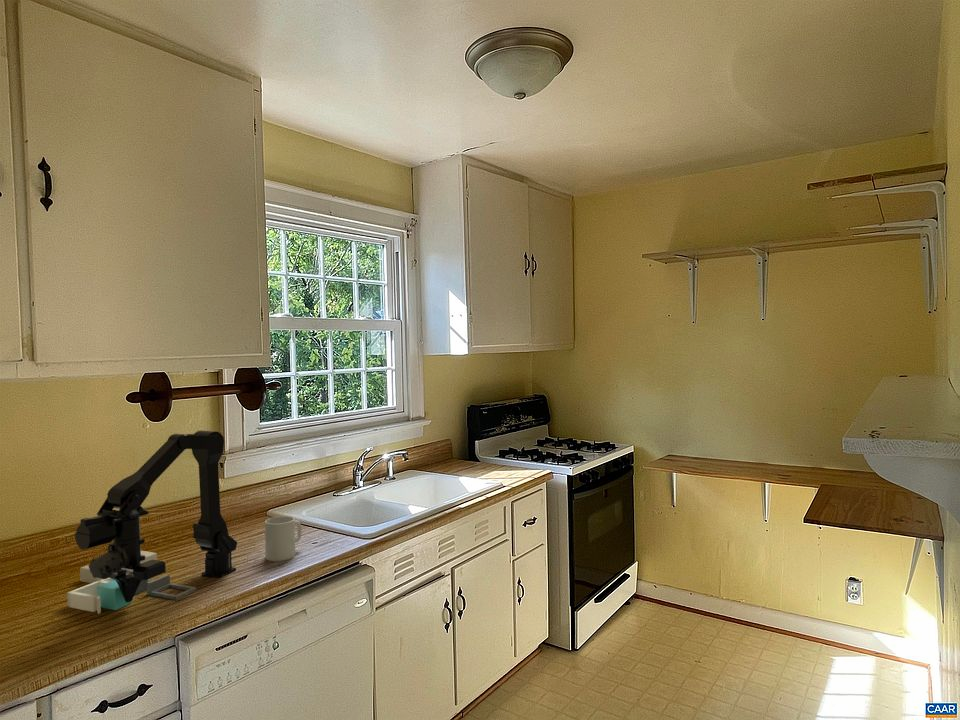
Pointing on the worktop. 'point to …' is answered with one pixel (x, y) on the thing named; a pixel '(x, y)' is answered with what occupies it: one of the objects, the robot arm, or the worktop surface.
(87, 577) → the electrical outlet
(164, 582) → the grey rectangular frame stand
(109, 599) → the plug
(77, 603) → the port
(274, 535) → the mug
